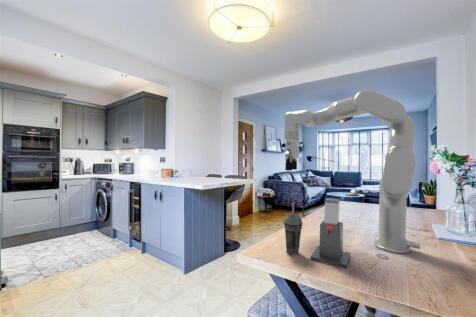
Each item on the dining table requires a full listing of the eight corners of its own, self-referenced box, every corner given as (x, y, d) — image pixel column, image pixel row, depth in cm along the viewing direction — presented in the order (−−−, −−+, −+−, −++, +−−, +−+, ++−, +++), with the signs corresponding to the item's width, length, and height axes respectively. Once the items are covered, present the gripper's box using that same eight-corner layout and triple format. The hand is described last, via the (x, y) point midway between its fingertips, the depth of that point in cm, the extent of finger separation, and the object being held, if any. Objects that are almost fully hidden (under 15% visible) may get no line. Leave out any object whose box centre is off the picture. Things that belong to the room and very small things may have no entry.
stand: (350, 255, 89) (351, 222, 89) (346, 268, 79) (347, 230, 78) (318, 248, 95) (318, 217, 95) (310, 259, 85) (311, 224, 85)
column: (338, 253, 88) (339, 199, 87) (336, 257, 84) (337, 201, 84) (325, 250, 90) (327, 197, 90) (323, 254, 86) (324, 199, 86)
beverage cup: (302, 250, 93) (303, 200, 93) (301, 257, 87) (302, 204, 86) (284, 247, 96) (285, 199, 96) (281, 254, 89) (282, 202, 89)
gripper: (294, 134, 110) (294, 170, 110) (302, 137, 125) (302, 169, 125) (279, 135, 113) (279, 170, 113) (289, 138, 129) (288, 168, 129)
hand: (291, 169), depth 119 cm, fingers open, 9 cm apart
